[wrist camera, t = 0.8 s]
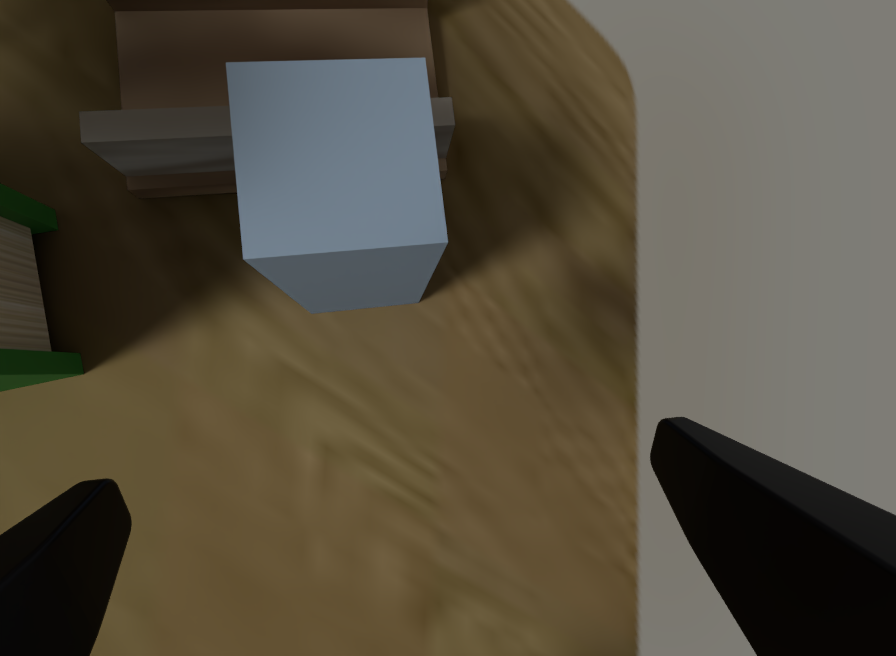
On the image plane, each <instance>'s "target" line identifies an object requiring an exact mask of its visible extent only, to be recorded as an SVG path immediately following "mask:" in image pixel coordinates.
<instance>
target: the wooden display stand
mask: <svg viewBox="0 0 896 656" xmlns="http://www.w3.org/2000/svg"><path fill="white" fill-rule="evenodd" d="M107 2H108V3H109V4H110V6H111V7H112V8H113V10H114V11H115V22H116V37H117V51H118V65H119V79H120V93H121V108H122V110H106V111H80V112H79V118H80V133H81V143H82V144H83V145H85V146H86V147H87V148H89V149H90V150H92V151H93V152H94V153H96V154H97V155H98V156H100V157H101V158H102V159H104V160H105V161H106V162H108V163H109V164H110V165H112V166H113V167H114V168H116V169H117V170H118V171H120V172H121V173H122V174H124V175H125V176H126V179H127V190H128V191H129V192H131V193H132V194H134V195H135V196H137V197H138V198H139V199H141V198H157V197H172V196H188V195H204V194H219V193H235V192H237V184H236V173H235V162H234V150H233V139H232V128H231V116H230V105H229V94H228V83H227V71H226V62H263V61H304V60H345V59H386V58H425V60H426V68H427V76H428V84H429V92H430V100H431V108H432V116H433V124H434V132H435V141H436V149H437V157H438V165H439V173H440V179H445V176H446V173H447V163H446V156H447V152H448V149H449V145H450V142H451V138H452V135H453V131H454V127H455V119H454V112H453V104H452V97H443V98H438V91H437V83H436V75H435V67H434V59H433V51H432V43H431V35H430V27H429V19H428V11H427V4H428V0H107Z"/></svg>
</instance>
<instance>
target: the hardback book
mask: <svg viewBox="0 0 896 656" xmlns="http://www.w3.org/2000/svg"><path fill="white" fill-rule="evenodd" d="M56 230H58V225H57V219H56V213H55V210H54V209H52V208H50V207H48V206H46V205H44V204H42V203H40V202H38V201H36V200H34V199H32V198H29V197H27V196H25V195H23V194H21V193H19V192H17V191H15V190H13V189H11V188H9V187H7V186H5V185H3V184H1V183H0V391H5V390H10V389H15V388H20V387H24V386H29V385H34V384H39V383H44V382H49V381H53V380H58V379H63V378H68V377H73V376H77V375H82V374H84V372H83V366H82V360H81V355H80V353H68V352H52V351H51V346H50V340H49V334H48V328H47V322H46V317H45V311H44V305H43V299H42V293H41V288H40V282H39V276H38V270H37V265H36V259H35V253H34V247H33V241H32V236H31V234H37V233H43V232H49V231H56Z"/></svg>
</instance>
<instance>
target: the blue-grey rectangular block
mask: <svg viewBox="0 0 896 656" xmlns="http://www.w3.org/2000/svg"><path fill="white" fill-rule="evenodd" d="M226 71H227V83H228V94H229V105H230V116H231V128H232V139H233V150H234V162H235V173H236V184H237V196H238V207H239V218H240V229H241V241H242V252H243V260H245V261H246V262H247V263H248V264H250V265H251V266H252V267H253V268H255V269H256V270H257V271H258V272H260V273H261V274H262V275H263V276H265V277H266V278H267V279H268V280H270V281H271V282H272V283H274V284H275V285H276V286H277V287H279V288H280V289H281V290H282V291H284V292H285V293H286V294H287V295H289V296H290V297H291V298H292V299H294V300H295V301H296V302H297V303H299V304H300V305H301V306H302V307H304V308H305V309H306V310H308V311H309V312H310V313H311V314H313V313H323V312H333V311H343V310H353V309H362V308H372V307H382V306H392V305H402V304H412V303H419V301H420V299H421V297H422V295H423V293H424V291H425V289H426V286H427V284H428V282H429V280H430V278H431V276H432V274H433V272H434V270H435V268H436V266H437V264H438V262H439V260H440V258H441V256H442V254H443V252H444V250H445V248H446V246H447V244H448V237H447V229H446V221H445V213H444V205H443V197H442V189H441V181H440V173H439V165H438V157H437V149H436V141H435V132H434V124H433V116H432V108H431V100H430V92H429V84H428V76H427V68H426V60H425V58H386V59H345V60H304V61H263V62H226Z"/></svg>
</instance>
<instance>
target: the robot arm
mask: <svg viewBox="0 0 896 656" xmlns="http://www.w3.org/2000/svg"><path fill="white" fill-rule="evenodd" d="M650 460H651V465H652V468H653V470H654V472H655V474H656V476H657V478H658V481H659V483H660V485H661V487H662V489H663V491H664V493H665V495H666V497H667V499H668V501H669V503H670V505H671V507H672V509H673V511H674V513H675V516H676V518H677V520H678V522H679V524H680V526H681V528H682V530H683V532H684V534H685V536H686V537H687V540H688V541H689V544H690V545H691V547H692V549H693V551H694V552H695V554H696V556H697V558H698V559H699V561H700V563H701V564H702V566H703V567H704V569H705V571H706V572H707V574H708V576H709V577H710V579H711V581H712V582H713V584H714V586H715V587H716V589H717V591H718V592H719V593H720V595H721V597H722V599H723V600H724V602H725V604H726V605H727V607H728V609H729V610H730V612H731V614H732V615H733V617H734V618H735V620H736V622H737V623H738V625H739V627H740V628H741V630H742V632H743V633H744V635H745V636H746V638H747V640H748V641H749V643H750V645H751V646H752V648H753V649H754V651H755V653H756V654H757V656H896V515H894V514H892V513H890V512H887V511H885V510H883V509H881V508H879V507H877V506H875V505H872V504H870V503H868V502H866V501H864V500H862V499H859V498H857V497H855V496H853V495H851V494H849V493H846V492H844V491H842V490H840V489H838V488H836V487H834V486H831V485H829V484H827V483H825V482H823V481H820V480H819V479H816V478H814V477H812V476H810V475H808V474H806V473H803V472H801V471H799V470H797V469H795V468H793V467H791V466H788V465H786V464H784V463H782V462H780V461H778V460H776V459H773V458H771V457H769V456H767V455H765V454H763V453H761V452H758V451H756V450H754V449H752V448H749V447H748V446H745V445H743V444H741V443H739V442H737V441H735V440H733V439H731V438H728V437H726V436H724V435H722V434H720V433H718V432H715V431H713V430H711V429H709V428H707V427H705V426H702V425H700V424H698V423H696V422H694V421H692V420H690V419H688V418H685V417H674V418H665V419H662V420H661V421H660V422H659V423H658V425H657V429H656V433H655V437H654V441H653V445H652V449H651V453H650ZM131 526H132V521H131V516H130V513H129V510H128V508H127V506H126V503H125V501H124V499H123V496H122V494H121V492H120V489H119V487H118V485H117V483H116V482H115V481H114V480H112V479H107V478H106V479H97V480H87V481H82V482H80V483H78V484H76V485H74V486H73V487H71V488H70V489H68V490H67V491H65V492H64V493H62V494H61V495H59V496H58V497H56V498H55V499H53V500H52V501H50V502H49V503H47V504H46V505H44V506H43V507H41V508H40V509H39V510H37V511H36V512H34V513H33V514H31V515H30V516H28V517H27V518H25V519H24V520H22V521H21V522H19V523H18V524H16V525H15V526H13V527H12V528H10V529H9V530H7V531H6V532H4V533H3V534H1V535H0V656H89V655H90V653H91V651H92V648H93V646H94V643H95V641H96V638H97V636H98V633H99V630H100V627H101V624H102V621H103V618H104V615H105V612H106V609H107V606H108V602H109V599H110V596H111V593H112V590H113V586H114V583H115V580H116V577H117V574H118V570H119V567H120V564H121V561H122V558H123V555H124V551H125V548H126V545H127V542H128V539H129V535H130V532H131Z"/></svg>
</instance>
